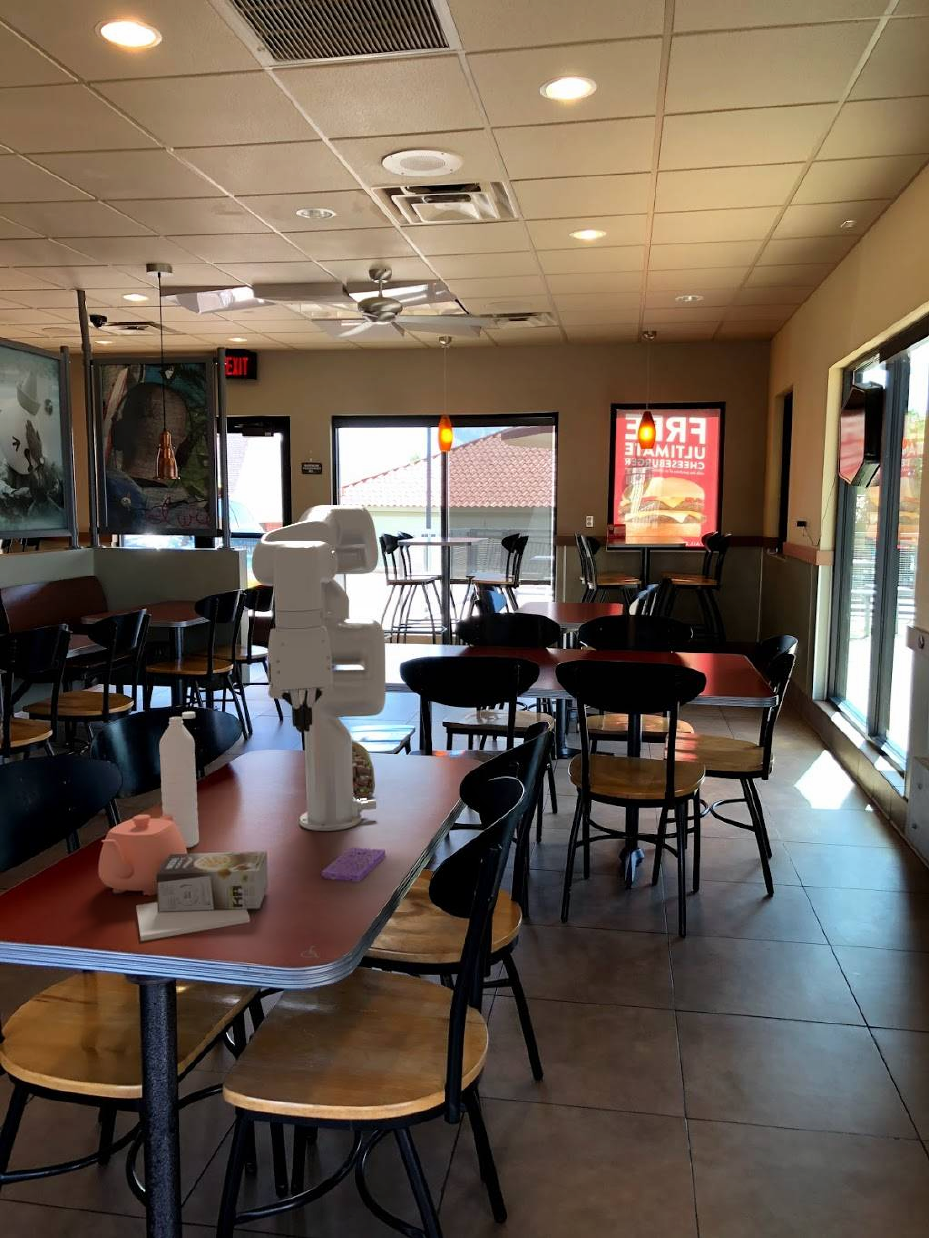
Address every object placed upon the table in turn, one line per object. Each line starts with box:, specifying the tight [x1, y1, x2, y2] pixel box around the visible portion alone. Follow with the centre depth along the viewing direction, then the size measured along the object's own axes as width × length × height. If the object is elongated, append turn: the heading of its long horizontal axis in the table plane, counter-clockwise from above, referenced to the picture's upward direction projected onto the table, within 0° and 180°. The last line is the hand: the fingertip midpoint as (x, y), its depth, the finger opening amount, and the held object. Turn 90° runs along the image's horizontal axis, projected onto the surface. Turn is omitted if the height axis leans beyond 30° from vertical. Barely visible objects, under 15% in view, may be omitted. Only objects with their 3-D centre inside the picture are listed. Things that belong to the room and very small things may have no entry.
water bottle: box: [158, 711, 200, 849], centre depth 178 cm, size 9×6×25 cm
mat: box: [135, 901, 251, 942], centre depth 145 cm, size 16×12×1 cm
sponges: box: [321, 846, 386, 883], centre depth 165 cm, size 7×13×2 cm, turn 164°
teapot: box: [98, 814, 188, 897], centre depth 157 cm, size 13×20×12 cm, turn 167°
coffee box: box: [156, 850, 269, 912], centre depth 149 cm, size 9×6×16 cm
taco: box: [352, 740, 376, 800], centre depth 216 cm, size 10×27×10 cm, turn 31°
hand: (302, 729), depth 153 cm, fingers closed
